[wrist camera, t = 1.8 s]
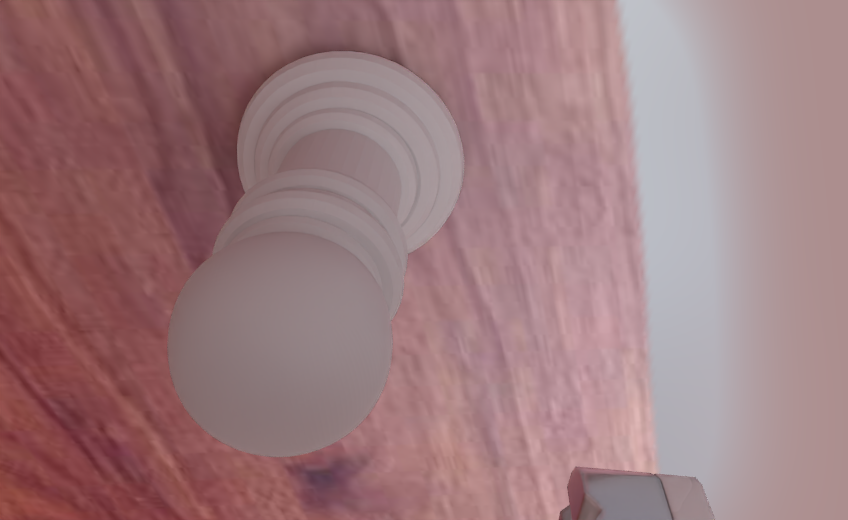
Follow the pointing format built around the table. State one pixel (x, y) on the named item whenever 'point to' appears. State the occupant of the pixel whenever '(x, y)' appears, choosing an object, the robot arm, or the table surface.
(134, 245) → the table surface
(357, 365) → the chess piece
